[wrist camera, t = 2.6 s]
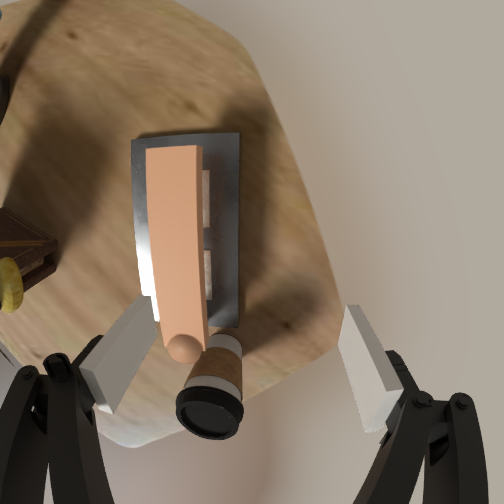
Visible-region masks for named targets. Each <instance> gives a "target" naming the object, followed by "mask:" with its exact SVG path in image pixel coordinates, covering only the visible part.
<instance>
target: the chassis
mask: <svg viewBox="0 0 504 504" xmlns="http://www.w3.org/2000/svg"><path fill="white" fill-rule="evenodd" d="M190 145H198V146H202V147H203V148H202V197H203V241H204V267H205V287H206V304H207V319H208V326H214V327H229V328H238V327H239V191H240V133H204V134H186V135H172V136H161V137H151V138H142V139H134V140H131V175H132V200H133V216H134V228H135V239H136V249H137V257H138V265H139V273H140V280H141V287H142V293H143V295H147V296H151V299H152V306H153V312H154V318H155V321H160V318H159V312H158V306H157V299H156V292H155V285H154V277H153V268H152V259H151V250H150V239H149V226H148V211H147V189H146V149H149V148H160V147H173V146H190Z"/></svg>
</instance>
